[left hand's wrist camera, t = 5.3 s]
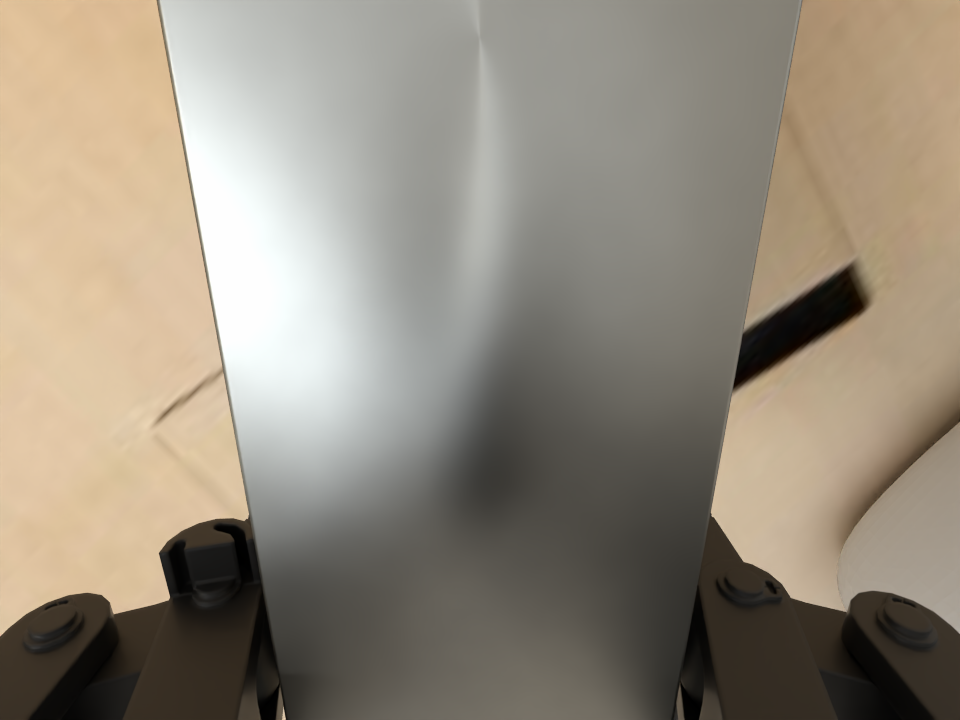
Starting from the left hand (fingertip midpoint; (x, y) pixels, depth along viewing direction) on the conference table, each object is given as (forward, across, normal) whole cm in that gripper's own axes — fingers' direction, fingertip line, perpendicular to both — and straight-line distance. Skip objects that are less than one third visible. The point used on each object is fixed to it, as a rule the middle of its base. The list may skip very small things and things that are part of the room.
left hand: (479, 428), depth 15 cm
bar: (+1, 0, -8) cm, 8 cm away
